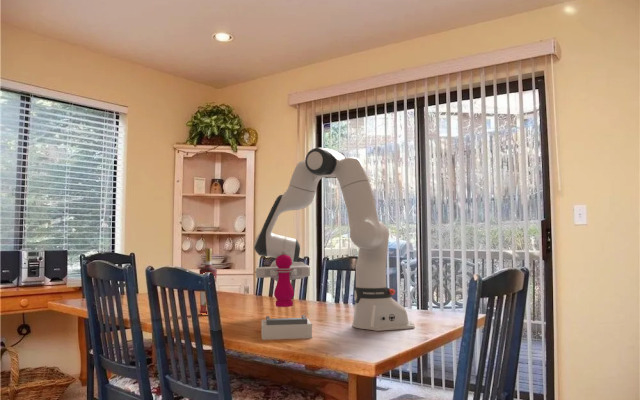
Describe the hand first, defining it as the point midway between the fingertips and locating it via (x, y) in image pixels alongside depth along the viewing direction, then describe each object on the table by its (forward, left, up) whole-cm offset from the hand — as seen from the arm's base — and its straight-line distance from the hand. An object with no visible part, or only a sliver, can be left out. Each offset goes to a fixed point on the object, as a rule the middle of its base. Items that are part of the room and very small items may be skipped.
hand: (284, 273), depth 172 cm
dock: (0, +12, -20) cm, 23 cm away
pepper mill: (0, -1, -12) cm, 12 cm away
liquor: (+30, -36, -20) cm, 51 cm away
